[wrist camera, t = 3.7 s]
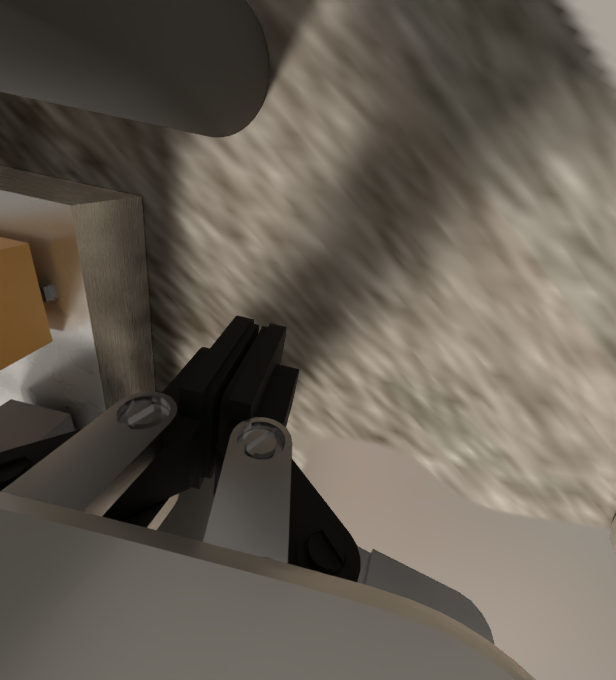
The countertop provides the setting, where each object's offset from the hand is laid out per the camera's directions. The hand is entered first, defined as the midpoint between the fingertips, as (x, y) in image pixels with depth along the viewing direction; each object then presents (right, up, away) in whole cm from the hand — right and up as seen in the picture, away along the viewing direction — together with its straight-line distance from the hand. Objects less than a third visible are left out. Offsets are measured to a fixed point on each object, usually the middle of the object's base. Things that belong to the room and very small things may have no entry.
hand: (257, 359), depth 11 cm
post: (-2, +11, +1) cm, 11 cm away
